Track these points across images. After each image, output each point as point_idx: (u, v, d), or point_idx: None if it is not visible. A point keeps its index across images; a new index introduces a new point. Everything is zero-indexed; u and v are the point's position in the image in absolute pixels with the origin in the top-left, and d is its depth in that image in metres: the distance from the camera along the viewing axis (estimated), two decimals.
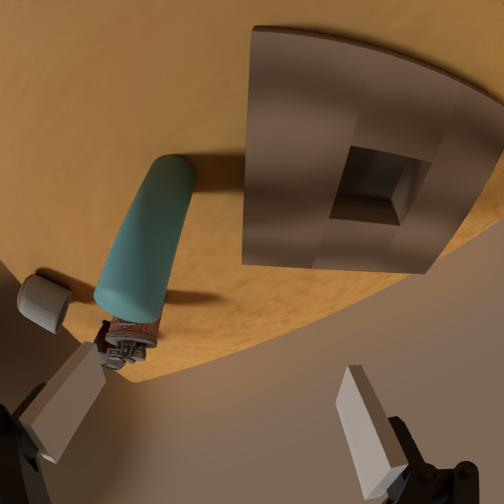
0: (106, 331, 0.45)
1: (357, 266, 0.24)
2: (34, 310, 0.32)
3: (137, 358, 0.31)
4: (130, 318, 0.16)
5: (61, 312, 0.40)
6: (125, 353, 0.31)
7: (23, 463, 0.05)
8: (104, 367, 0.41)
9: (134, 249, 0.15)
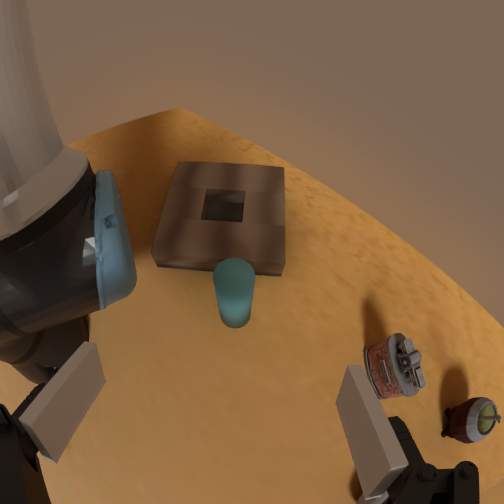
0: (450, 427, 0.27)
1: (280, 203, 0.42)
2: (385, 497, 0.20)
3: (406, 345, 0.26)
4: (250, 279, 0.27)
5: None
6: (406, 361, 0.26)
7: (23, 463, 0.05)
8: (483, 417, 0.22)
9: None
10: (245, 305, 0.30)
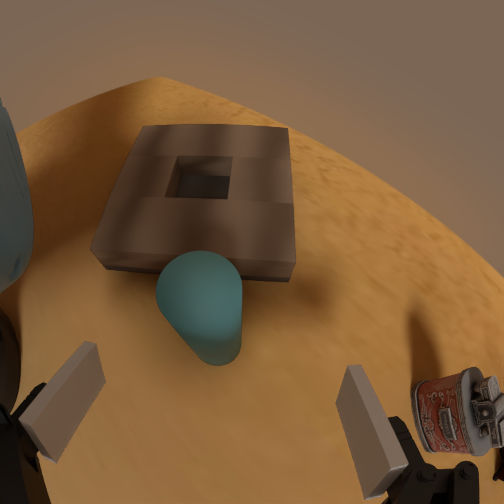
0: None
1: (284, 172, 0.28)
2: None
3: (491, 388, 0.12)
4: (232, 296, 0.13)
5: None
6: (488, 411, 0.12)
7: (23, 463, 0.05)
8: None
9: None
10: (227, 341, 0.15)
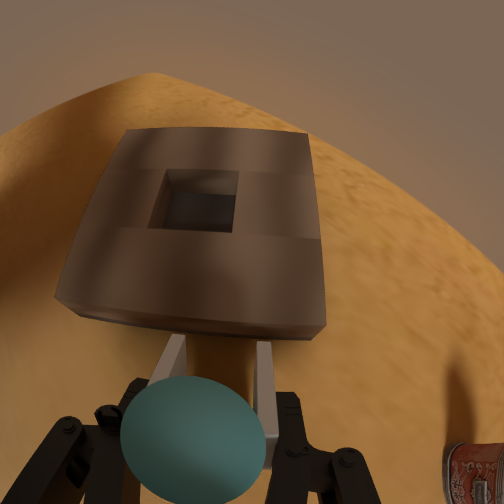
0: None
1: (307, 193, 0.21)
2: None
3: None
4: (248, 459, 0.06)
5: None
6: None
7: (126, 472, 0.06)
8: None
9: None
10: None
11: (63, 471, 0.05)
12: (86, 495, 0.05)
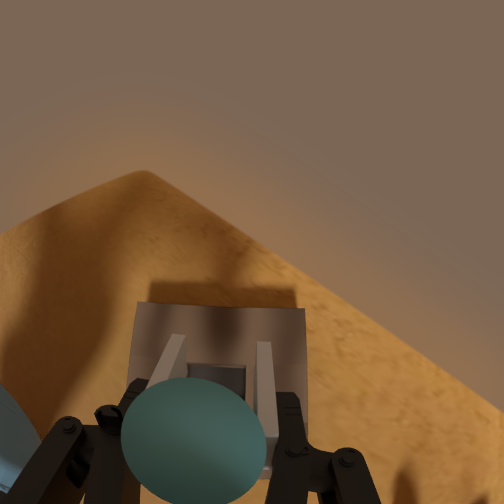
0: None
1: (300, 383, 0.25)
2: None
3: None
4: (249, 460, 0.06)
5: None
6: None
7: (126, 472, 0.06)
8: None
9: None
10: None
11: (63, 471, 0.05)
12: (86, 495, 0.05)
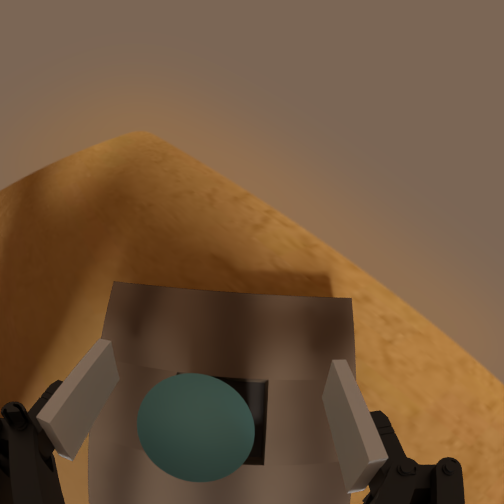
0: None
1: None
2: None
3: None
4: (240, 440, 0.08)
5: None
6: None
7: (39, 463, 0.05)
8: None
9: None
10: None
11: None
12: (13, 490, 0.03)
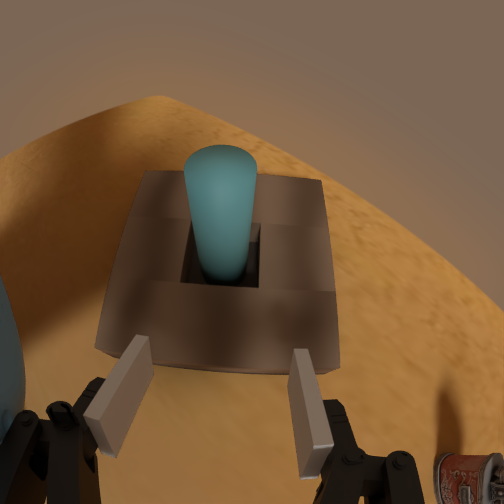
0: None
1: (323, 246, 0.24)
2: None
3: None
4: (248, 171, 0.15)
5: None
6: (503, 492, 0.07)
7: (81, 465, 0.06)
8: None
9: None
10: (239, 230, 0.18)
11: (26, 463, 0.05)
12: (48, 490, 0.04)
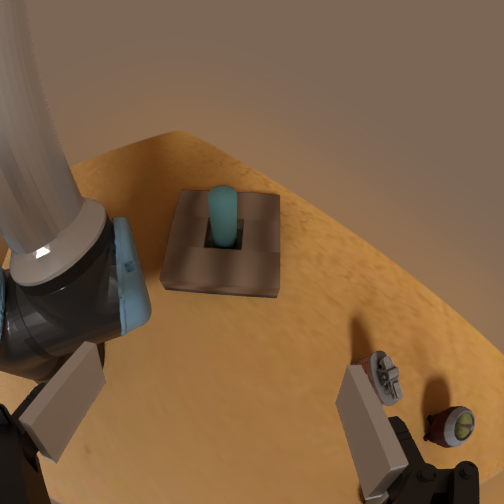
0: (431, 433, 0.31)
1: (276, 230, 0.47)
2: None
3: (385, 362, 0.31)
4: (233, 197, 0.38)
5: None
6: (385, 375, 0.30)
7: (23, 463, 0.05)
8: (459, 425, 0.26)
9: None
10: (231, 222, 0.41)
11: None
12: (0, 491, 0.03)
